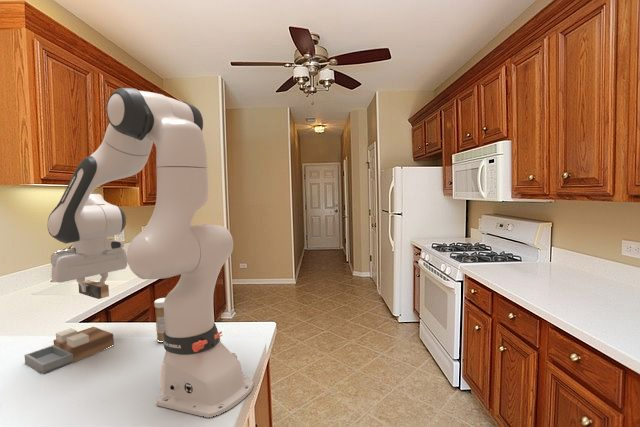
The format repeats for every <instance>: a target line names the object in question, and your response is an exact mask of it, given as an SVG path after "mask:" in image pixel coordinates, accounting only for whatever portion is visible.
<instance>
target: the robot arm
mask: <svg viewBox="0 0 640 427" xmlns="http://www.w3.org/2000/svg"><path fill="white" fill-rule="evenodd" d="M106 118H107V120H108V125H107V128H106V131H105V134H104V137H103V140H102V142H101V143H100V145H99V147H97V149H96V150H95V151H94V152H92V153H91V154H90V155H89V156H86V157H85V158H83V159H82V160H81V161H80V163H79V164H78V166H77V167H76V169H75V171H74V172H73V174H72V176H71V178H70V180H69V182H68V184H67V187H66V188H65V190H64V192H63V194H62V196H61V198H60V200H59V201H58V203H57V205H56V206H55V208H53V210H52V211H51V213H49V216H48V218H47V231H48V234H49V235H50V236H51V237H52V238H54V239H55V240H56V241H58V242H61V243H63V244H71V243H72V248H67V249H59V250H56V251H55V252H54V253H52V254H51V255H50V264H51V280H52V281H54V282H56V283H59V284H60V283H65V282H70V281H74V280H76V282H77V283H79V284H80V286H81V289H82V292H86V291H89V290H90V289H89V285H85V283H84V282H83V281H86V278H88V277H94V276H97V275H99V276H100V280H99V281H97V282H98V283H102V284H106V283H105V282H106V280H107V278H108V277H109V273H111V272H117V271H121V270H125V269H126V268H127V267H128V266H129V269H130V271H131V272H132V273H133V274H134V275H135V276H137V277H138V278H139V279H142V280H158V279H160V280H161V279H167V278H168V279H169V278H172V277H175V276H179V275H180V278H179V280H178V281H177V283H176V285H175V286H174V287H173V289H171V290H170V291H169V292H168V294H166V296H165V297H164V298H165V301H164V319H165V331H164V337H163V343H162V344H163V348H164V350H165V352H164V358H163V360H162V364H161V370H160V393H159V395H158V396H157V398H156V405H157V406H159V407H162V408H167V409H171V410H174V411H179V412H183V413H186V414H191V415H195V416H200V417H203V416H204V417H205V418H209V417H210V418H213V416H214V417H216V415H217V416H220V415H222V414H223V412H224V413H226V412H227V411H229V410H230V409H232V408H233V407H235V406H236V405H239V403H241V402H242V400H244V399H245V398H247V396H248V395H249V394H250V393H251V392H252V390H253V388H254V381H253V379H250V378H249V377H247V376H246V375H245V374H244V373H243V368H242V365H241V362H240V361H239V360H238V356H237V354H236V353H235V352H231V351H230V350H229V349H228V347H226V346H225V344H224V343H223V342H222V341H221V337H222V336H223V331H219V330H218V328H217V325H216V323H215V321H214V320H215V319H214V318H215V317H214V294H215V288H216V284H217V280H218V277H219V274H220V272H221V271H222V267H223V266H224V264H225V263H226V261H227V260H228V259H229V258H230V257H231V255H232V253H233V250H234V239H233V236H232V234H231V232H230V231H229V229H228V228H227V227H225V226H223V225H219V224H210V223H209V224H208V223H204V224H203V223H202V224H196V225H195V224H194V225H192V220H193V218H194V216H195V214H196V213H197V212H198V210H200V209H201V208H203V207H204V206H205V205H206V203H207V202H208V199H209V181H208V177H209V176H208V174H209V173H208V157H207V151H206V150H207V149H206V144H205V139H204V134H203V128H204V119H203V116H202V113H201V112H200V110H199V108H198V107H196V106H194V105H193V104H190V103H188V102H186V101H180V100H177V99H175V98H172V97H169V96H166V95H164V94H162V93H157V92H151V91H146V90H138V89H137V88H133V87H131V88H130V87H120V88H119V87H118V88H116V89H115V90H113V92H112V93H111V94H110V95H109V97H108V99H107V102H106ZM153 144H154V147H155V152H156V153H155V156H156V157H155V161H156V163H155V164H156V200H155V205H154V209H153V212H152V214H151V217H150V219H149V220H148V222H147V224H146V226H144V228H143V229H142V230H141V231H140V232H139V233H138V234H137V235H136V236H135V237H133V239H132V240H131V241H130V243H129V245H128V248H127V251H126V250H125V249H124V247H125V243H124V242H123V241H121V240H115V239H113V238H108V237H113V236H117V235H120V234H121V233H122V232H123V231H124V230H125V227H126V225H127V221H126V220H127V217H126V213H125V211H124V210H123V209H122V208H121V207H120V206H118V205H117V204H112V203H110V202H107V201H106V200H105V199H104V197H103V195H102V194H100V193H97V192H96V193H93V192H94V191H95V189H97V188H98V187H100V186H102V185H104V184H107V183H110V182H113V181H116V180H122V179H126V178H129V177H133V176H134V175H137V174H139V173H141V171H142V170H143V169H144V167H145V166H146V164H147V163H148V160H149V157H150V155H151V152H152V148H153ZM225 411H226V412H225ZM221 413H222V414H221ZM204 417H203V418H204ZM210 418H209V419H210Z"/></svg>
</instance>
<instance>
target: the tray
mask: <svg viewBox="0 0 640 427" xmlns="http://www.w3.org/2000/svg"><path fill="white" fill-rule="evenodd" d="M72 363H75V362H74V361H73V354H72V353H70V352H68V351H66V350H64V349H62V348H60V347H57V346H55V345H54V344H52V345H50V346H47V347H45V348H41V349H38V350H35V351H33V352H30V353H26V354H24V364H25V365H27V366H28V367H31V368H32V369H34V370H35V371H37V372H39V373H41V374H42V375H45V374H48V373H50V372H53V371H55V370H57V369H60V368H63V367H66V366H68V365H70V364H72Z"/></svg>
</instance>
